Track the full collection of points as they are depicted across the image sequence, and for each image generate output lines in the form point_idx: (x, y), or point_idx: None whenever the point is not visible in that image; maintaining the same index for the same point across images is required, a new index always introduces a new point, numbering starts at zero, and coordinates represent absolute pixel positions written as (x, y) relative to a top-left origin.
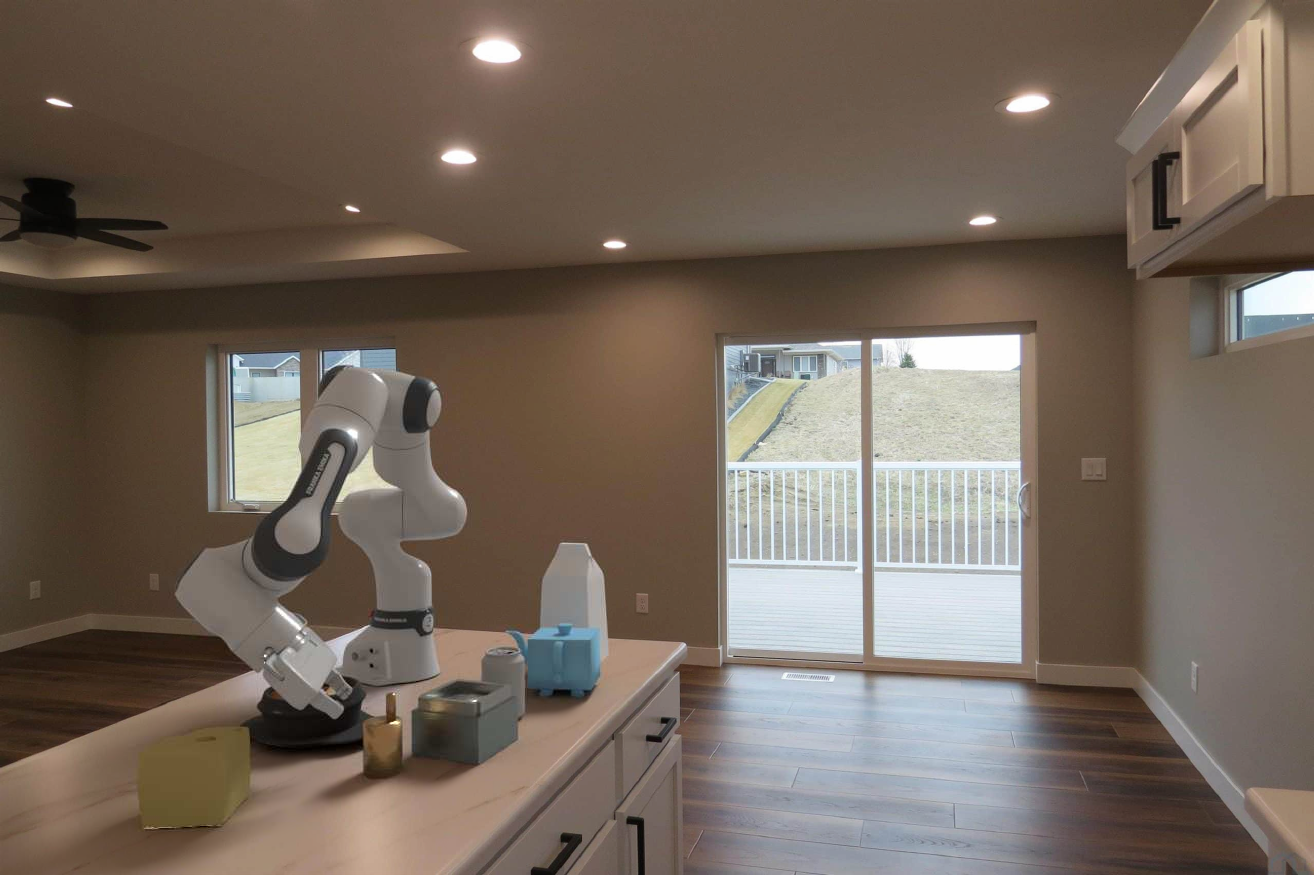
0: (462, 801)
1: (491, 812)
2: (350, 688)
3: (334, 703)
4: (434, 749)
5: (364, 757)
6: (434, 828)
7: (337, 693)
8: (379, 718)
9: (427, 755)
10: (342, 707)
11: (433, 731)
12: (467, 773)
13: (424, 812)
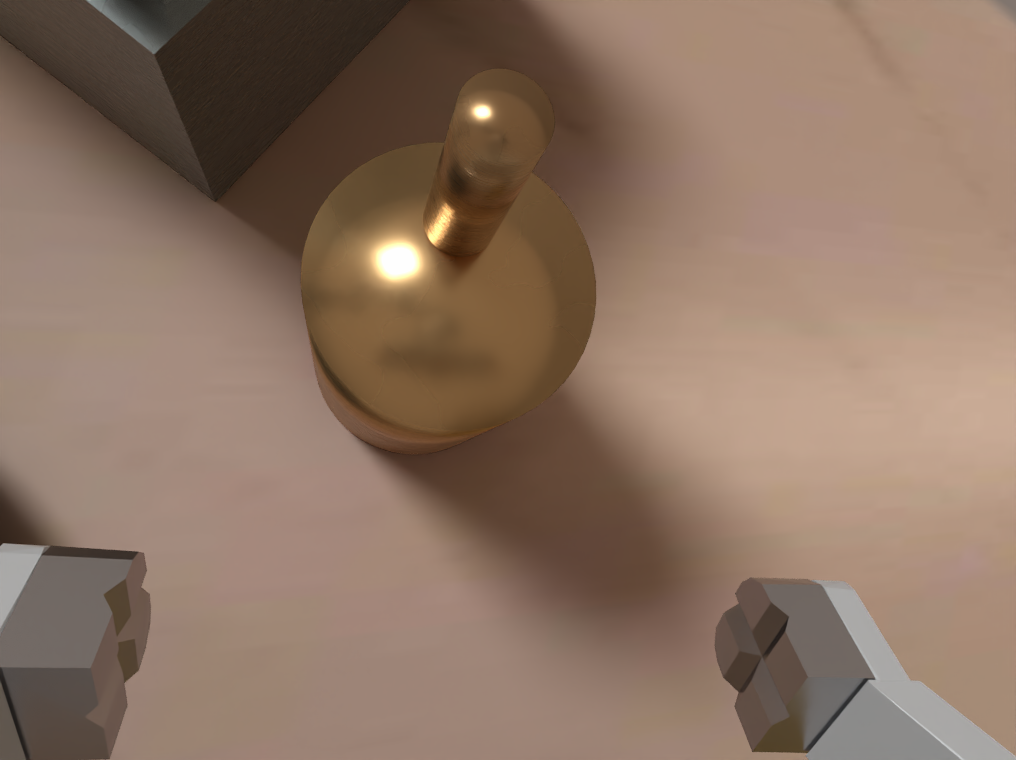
0: (824, 79)
1: (927, 11)
2: (54, 567)
3: (908, 680)
4: (310, 73)
5: (470, 438)
6: (1008, 203)
7: (113, 727)
8: (373, 302)
9: (280, 125)
10: (816, 591)
11: (300, 13)
12: (553, 3)
13: (887, 219)
